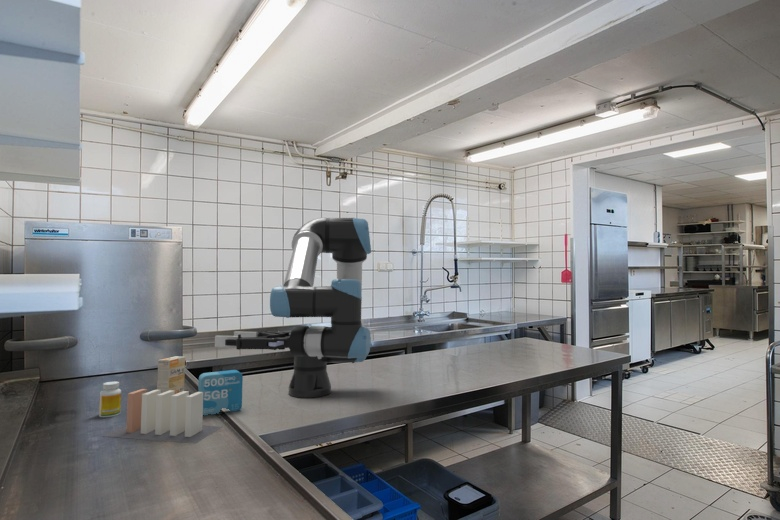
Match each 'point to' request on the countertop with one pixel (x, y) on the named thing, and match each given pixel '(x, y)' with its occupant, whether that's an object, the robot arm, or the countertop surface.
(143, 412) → the domino
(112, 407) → the supplement bottle
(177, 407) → the domino
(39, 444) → the countertop surface
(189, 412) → the domino
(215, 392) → the data package
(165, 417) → the domino
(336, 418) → the countertop surface
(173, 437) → the mat
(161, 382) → the supplement box
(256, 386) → the countertop surface
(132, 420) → the domino
